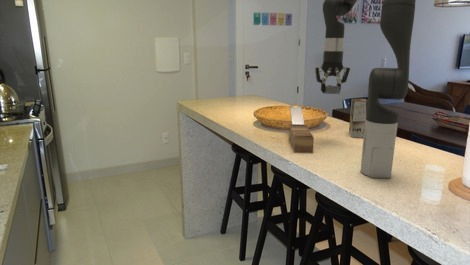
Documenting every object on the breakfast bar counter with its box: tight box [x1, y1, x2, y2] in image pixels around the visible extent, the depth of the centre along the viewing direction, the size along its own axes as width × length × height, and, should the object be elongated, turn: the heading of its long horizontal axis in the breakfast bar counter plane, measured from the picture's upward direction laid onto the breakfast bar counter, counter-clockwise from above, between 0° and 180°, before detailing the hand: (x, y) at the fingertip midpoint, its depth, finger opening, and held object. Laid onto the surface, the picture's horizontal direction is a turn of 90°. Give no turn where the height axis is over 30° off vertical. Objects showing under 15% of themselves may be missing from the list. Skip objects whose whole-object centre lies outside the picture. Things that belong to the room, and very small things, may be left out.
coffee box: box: [348, 98, 368, 139], centre depth 154 cm, size 9×6×16 cm
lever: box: [288, 105, 305, 125], centre depth 152 cm, size 1×5×12 cm
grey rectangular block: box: [322, 84, 341, 95], centre depth 140 cm, size 9×5×4 cm, turn 178°
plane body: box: [288, 124, 315, 154], centre depth 139 cm, size 18×7×7 cm, turn 178°
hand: (330, 92), depth 141 cm, fingers closed on grey rectangular block, 5 cm apart
